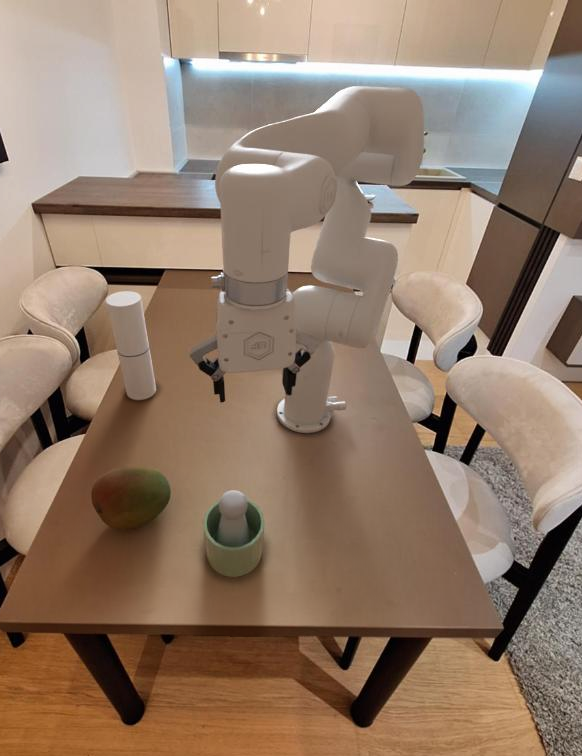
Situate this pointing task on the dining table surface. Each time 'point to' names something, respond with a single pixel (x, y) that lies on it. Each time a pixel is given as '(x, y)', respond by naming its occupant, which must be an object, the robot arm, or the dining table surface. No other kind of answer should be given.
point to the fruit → (130, 497)
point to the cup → (234, 558)
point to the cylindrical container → (132, 343)
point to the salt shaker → (233, 520)
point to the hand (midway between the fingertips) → (254, 392)
